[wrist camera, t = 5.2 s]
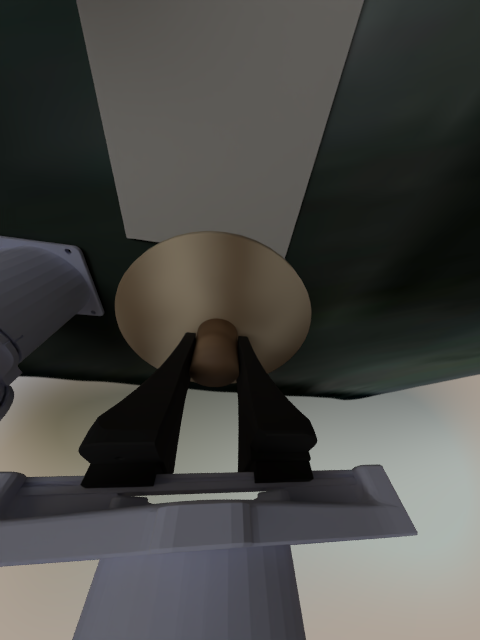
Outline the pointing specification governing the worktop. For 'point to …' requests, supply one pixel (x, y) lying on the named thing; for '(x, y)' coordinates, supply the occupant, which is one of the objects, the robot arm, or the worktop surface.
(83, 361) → the worktop surface
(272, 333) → the lid
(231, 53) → the mat
